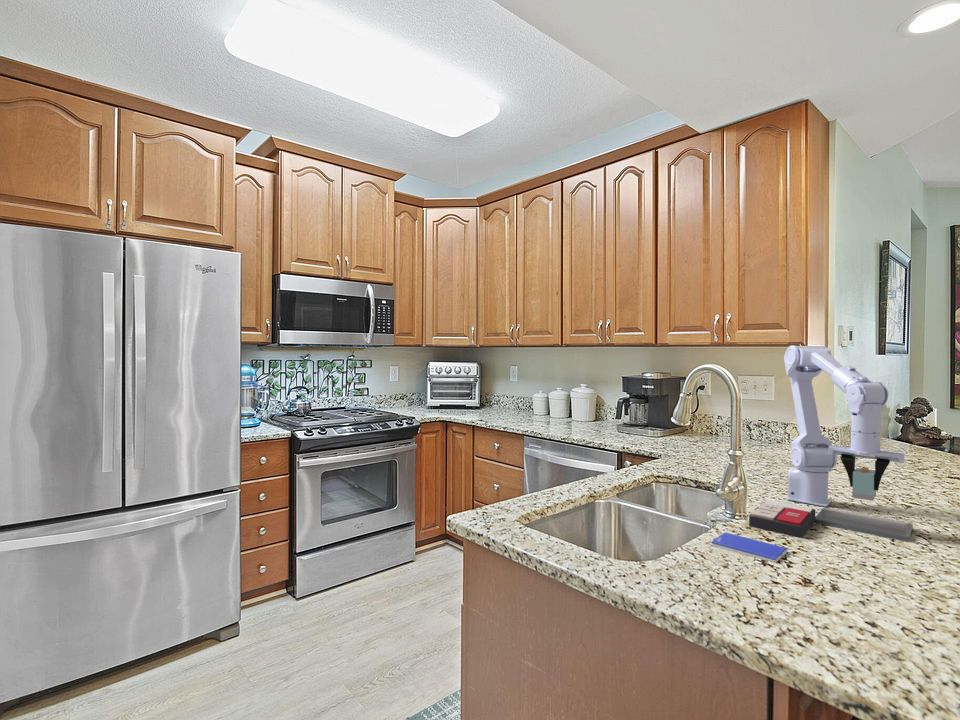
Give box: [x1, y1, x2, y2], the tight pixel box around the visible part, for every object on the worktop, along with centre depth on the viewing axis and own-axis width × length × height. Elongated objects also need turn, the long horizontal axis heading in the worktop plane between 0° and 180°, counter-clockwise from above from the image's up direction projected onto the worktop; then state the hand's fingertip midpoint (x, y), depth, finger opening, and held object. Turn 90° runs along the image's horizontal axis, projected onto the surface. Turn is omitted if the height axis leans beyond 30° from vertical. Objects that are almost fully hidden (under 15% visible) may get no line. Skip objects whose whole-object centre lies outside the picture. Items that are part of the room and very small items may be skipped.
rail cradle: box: [815, 506, 914, 543], centre depth 124 cm, size 18×12×2 cm, turn 47°
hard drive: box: [711, 532, 788, 564], centre depth 108 cm, size 2×8×12 cm
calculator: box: [748, 499, 816, 539], centre depth 124 cm, size 11×4×15 cm
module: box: [851, 466, 877, 502], centre depth 124 cm, size 4×6×7 cm, turn 137°
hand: (864, 487), depth 124 cm, fingers closed on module, 4 cm apart
